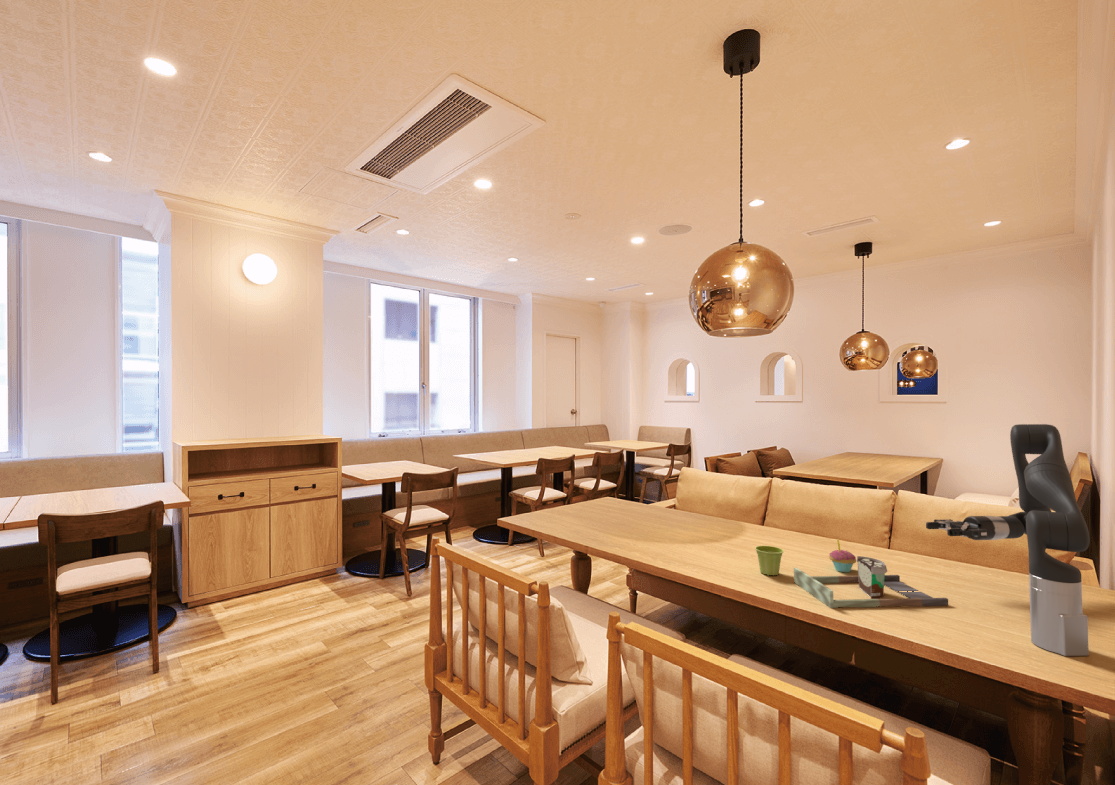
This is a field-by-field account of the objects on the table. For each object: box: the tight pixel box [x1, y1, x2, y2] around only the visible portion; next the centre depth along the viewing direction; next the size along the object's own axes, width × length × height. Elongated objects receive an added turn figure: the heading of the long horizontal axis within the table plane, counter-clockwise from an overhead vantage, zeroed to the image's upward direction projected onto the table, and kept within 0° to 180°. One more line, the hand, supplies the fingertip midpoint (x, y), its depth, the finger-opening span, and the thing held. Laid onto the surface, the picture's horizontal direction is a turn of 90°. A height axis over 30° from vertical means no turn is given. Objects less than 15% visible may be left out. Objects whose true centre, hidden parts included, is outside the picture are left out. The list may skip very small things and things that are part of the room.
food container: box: [856, 555, 888, 599], centre depth 157 cm, size 12×6×10 cm, turn 168°
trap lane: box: [793, 567, 949, 609], centre depth 157 cm, size 21×36×5 cm, turn 92°
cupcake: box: [828, 537, 857, 573], centre depth 179 cm, size 9×8×12 cm
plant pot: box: [754, 545, 785, 576], centre depth 176 cm, size 9×9×9 cm
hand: (937, 528), depth 158 cm, fingers open, 8 cm apart
